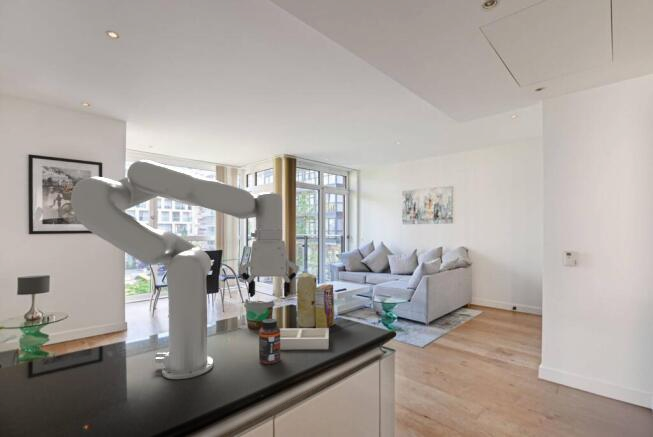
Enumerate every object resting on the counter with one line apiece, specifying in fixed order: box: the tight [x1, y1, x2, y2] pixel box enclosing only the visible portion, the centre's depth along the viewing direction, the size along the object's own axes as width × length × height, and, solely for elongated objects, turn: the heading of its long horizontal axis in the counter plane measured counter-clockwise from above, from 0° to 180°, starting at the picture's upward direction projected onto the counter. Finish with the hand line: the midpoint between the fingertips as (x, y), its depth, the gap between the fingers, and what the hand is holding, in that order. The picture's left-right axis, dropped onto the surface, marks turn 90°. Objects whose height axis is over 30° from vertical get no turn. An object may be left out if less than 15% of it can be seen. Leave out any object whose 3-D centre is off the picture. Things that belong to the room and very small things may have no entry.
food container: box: [243, 298, 276, 331], centre depth 118 cm, size 12×6×10 cm, turn 73°
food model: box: [296, 272, 318, 328], centre depth 120 cm, size 10×7×20 cm
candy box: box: [315, 283, 336, 329], centre depth 118 cm, size 9×4×15 cm, turn 155°
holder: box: [280, 327, 330, 350], centre depth 101 cm, size 19×10×3 cm, turn 89°
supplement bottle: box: [258, 318, 281, 365], centre depth 89 cm, size 6×6×11 cm
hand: (269, 295), depth 89 cm, fingers open, 9 cm apart
